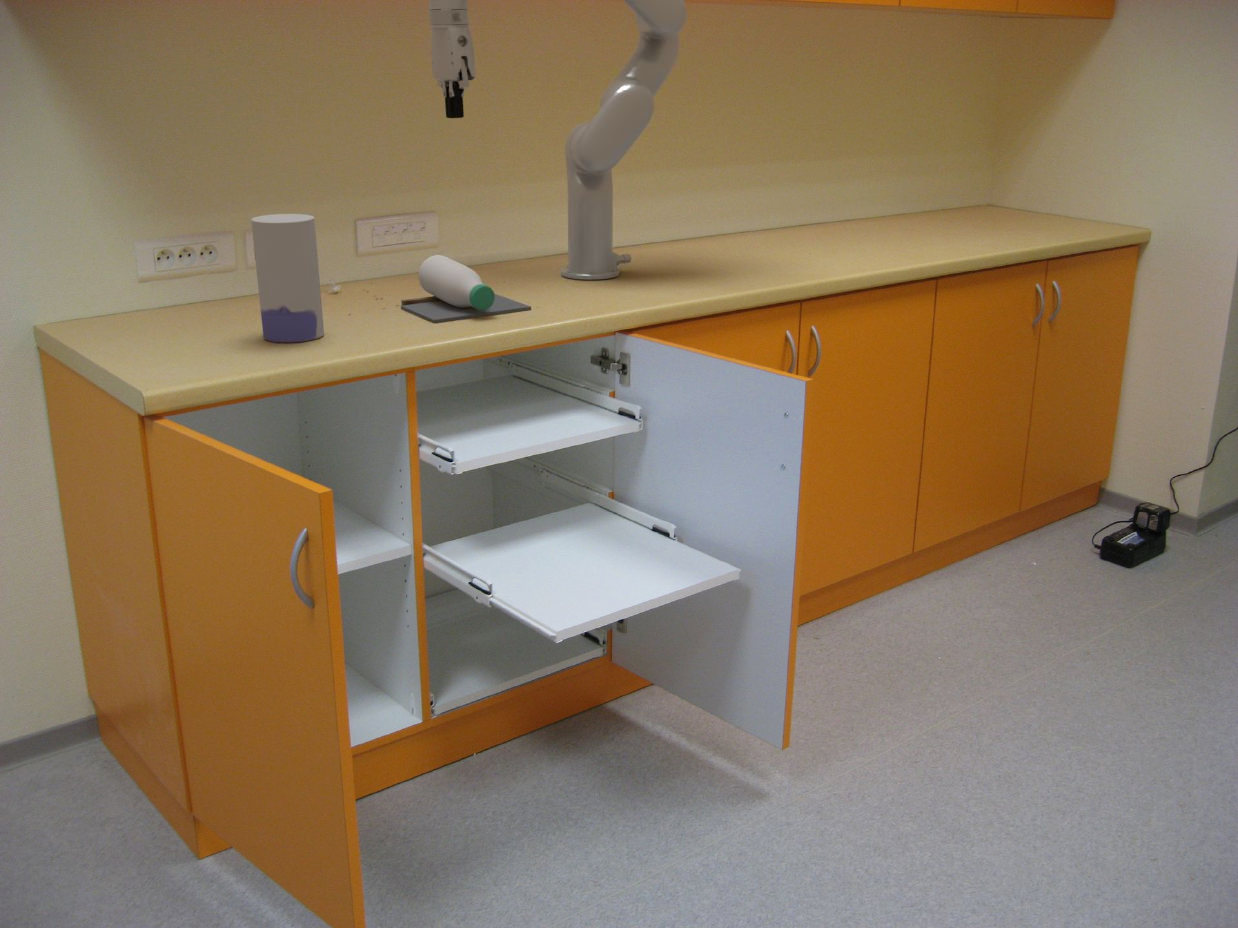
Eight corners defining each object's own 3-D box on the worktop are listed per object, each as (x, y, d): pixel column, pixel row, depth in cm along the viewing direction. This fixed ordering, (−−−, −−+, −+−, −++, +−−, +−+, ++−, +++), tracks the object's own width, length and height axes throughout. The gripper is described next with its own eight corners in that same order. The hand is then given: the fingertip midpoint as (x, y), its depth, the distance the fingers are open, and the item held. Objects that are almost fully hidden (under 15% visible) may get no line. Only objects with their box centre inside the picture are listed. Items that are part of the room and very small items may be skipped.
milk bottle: (414, 292, 221) (462, 318, 206) (419, 252, 219) (468, 276, 204) (450, 294, 226) (500, 320, 211) (455, 255, 223) (506, 278, 208)
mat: (495, 296, 227) (494, 293, 226) (531, 309, 216) (531, 306, 216) (401, 309, 216) (400, 305, 216) (434, 323, 205) (433, 320, 205)
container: (329, 329, 201) (319, 213, 194) (317, 343, 191) (306, 221, 184) (271, 329, 200) (259, 213, 193) (256, 343, 191) (243, 221, 184)
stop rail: (485, 295, 228) (485, 289, 227) (488, 296, 227) (488, 290, 226) (401, 306, 218) (401, 300, 218) (404, 307, 217) (404, 301, 217)
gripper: (485, 19, 222) (490, 118, 228) (447, 21, 233) (453, 115, 239) (450, 19, 217) (456, 120, 224) (414, 21, 229) (420, 117, 235)
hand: (455, 117), depth 231 cm, fingers closed
